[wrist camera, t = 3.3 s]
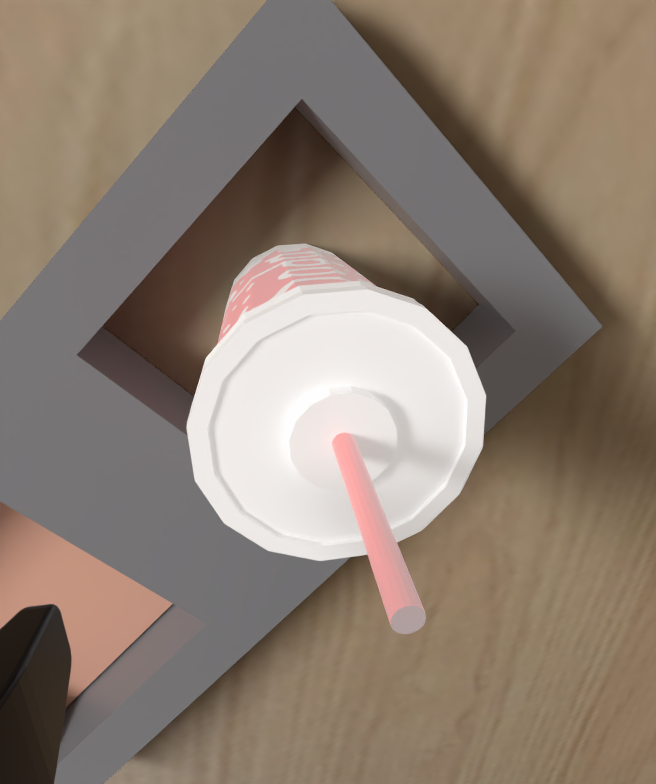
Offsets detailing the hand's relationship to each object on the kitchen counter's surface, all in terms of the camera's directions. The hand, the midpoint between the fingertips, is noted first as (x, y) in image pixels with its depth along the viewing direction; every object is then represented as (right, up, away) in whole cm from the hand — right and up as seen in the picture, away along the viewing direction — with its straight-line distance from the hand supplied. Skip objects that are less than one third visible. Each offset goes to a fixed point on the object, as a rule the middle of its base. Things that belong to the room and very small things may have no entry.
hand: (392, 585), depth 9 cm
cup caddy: (-7, 0, +13) cm, 15 cm away
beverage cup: (-2, +5, +12) cm, 13 cm away
